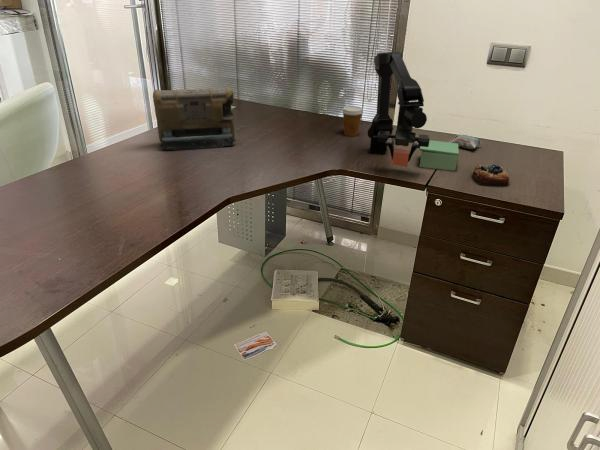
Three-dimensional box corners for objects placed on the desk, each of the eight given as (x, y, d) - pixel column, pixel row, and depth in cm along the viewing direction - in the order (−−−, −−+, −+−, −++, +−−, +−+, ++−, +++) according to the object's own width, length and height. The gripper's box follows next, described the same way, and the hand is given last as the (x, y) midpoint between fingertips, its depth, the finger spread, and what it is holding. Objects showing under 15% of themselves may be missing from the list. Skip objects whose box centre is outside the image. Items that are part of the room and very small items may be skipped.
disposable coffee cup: (364, 133, 214) (366, 107, 208) (355, 138, 207) (357, 112, 201) (346, 129, 219) (348, 104, 213) (337, 134, 211) (338, 109, 206)
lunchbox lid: (419, 150, 175) (420, 148, 175) (421, 140, 185) (421, 139, 184) (458, 155, 172) (458, 153, 172) (457, 145, 182) (458, 143, 181)
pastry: (469, 173, 173) (472, 159, 170) (500, 174, 173) (504, 159, 170) (477, 185, 163) (481, 170, 160) (511, 186, 163) (515, 171, 160)
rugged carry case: (232, 136, 208) (229, 80, 196) (238, 146, 197) (235, 87, 184) (159, 143, 199) (150, 85, 187) (161, 154, 188) (152, 92, 175)
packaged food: (473, 153, 192) (476, 141, 190) (447, 146, 199) (449, 135, 196) (481, 148, 198) (484, 137, 196) (456, 142, 205) (458, 131, 202)
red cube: (392, 164, 170) (393, 152, 168) (393, 159, 175) (395, 147, 172) (407, 166, 169) (408, 153, 166) (408, 161, 173) (410, 148, 171)
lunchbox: (419, 166, 178) (421, 151, 175) (420, 156, 188) (423, 142, 185) (455, 170, 175) (458, 155, 172) (455, 160, 185) (457, 145, 182)
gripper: (376, 123, 159) (372, 165, 167) (431, 129, 155) (424, 171, 162) (381, 115, 168) (377, 154, 176) (432, 119, 164) (426, 160, 172)
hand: (400, 160), depth 171 cm, fingers closed on red cube, 5 cm apart
